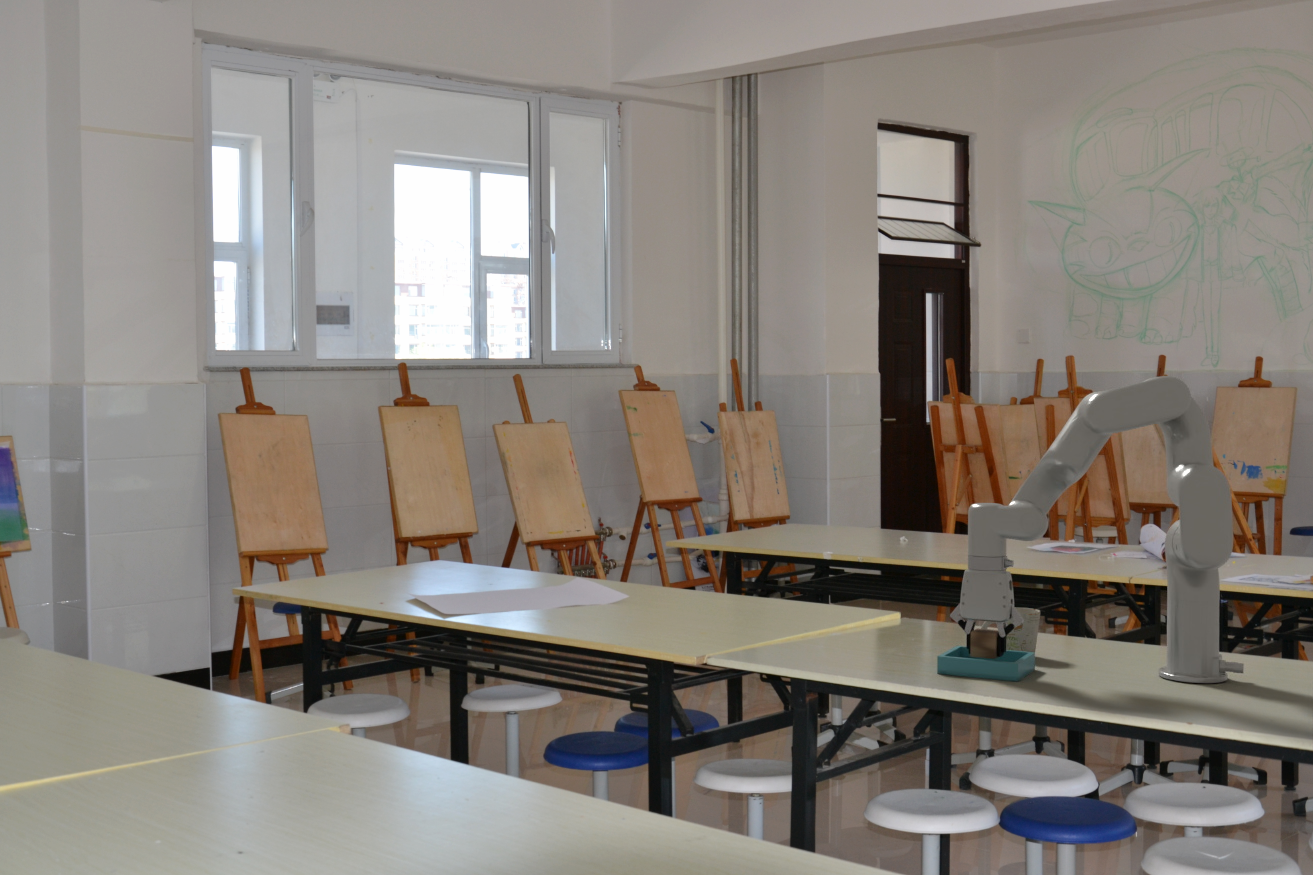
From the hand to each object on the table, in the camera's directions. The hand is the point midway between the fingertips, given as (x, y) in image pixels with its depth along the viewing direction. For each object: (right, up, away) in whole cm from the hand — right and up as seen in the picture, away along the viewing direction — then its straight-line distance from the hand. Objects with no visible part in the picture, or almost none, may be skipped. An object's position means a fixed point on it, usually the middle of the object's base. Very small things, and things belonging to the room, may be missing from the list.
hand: (986, 653), depth 258 cm
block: (0, -1, 0) cm, 1 cm away
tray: (0, -4, 0) cm, 4 cm away
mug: (+9, -4, +17) cm, 19 cm away
